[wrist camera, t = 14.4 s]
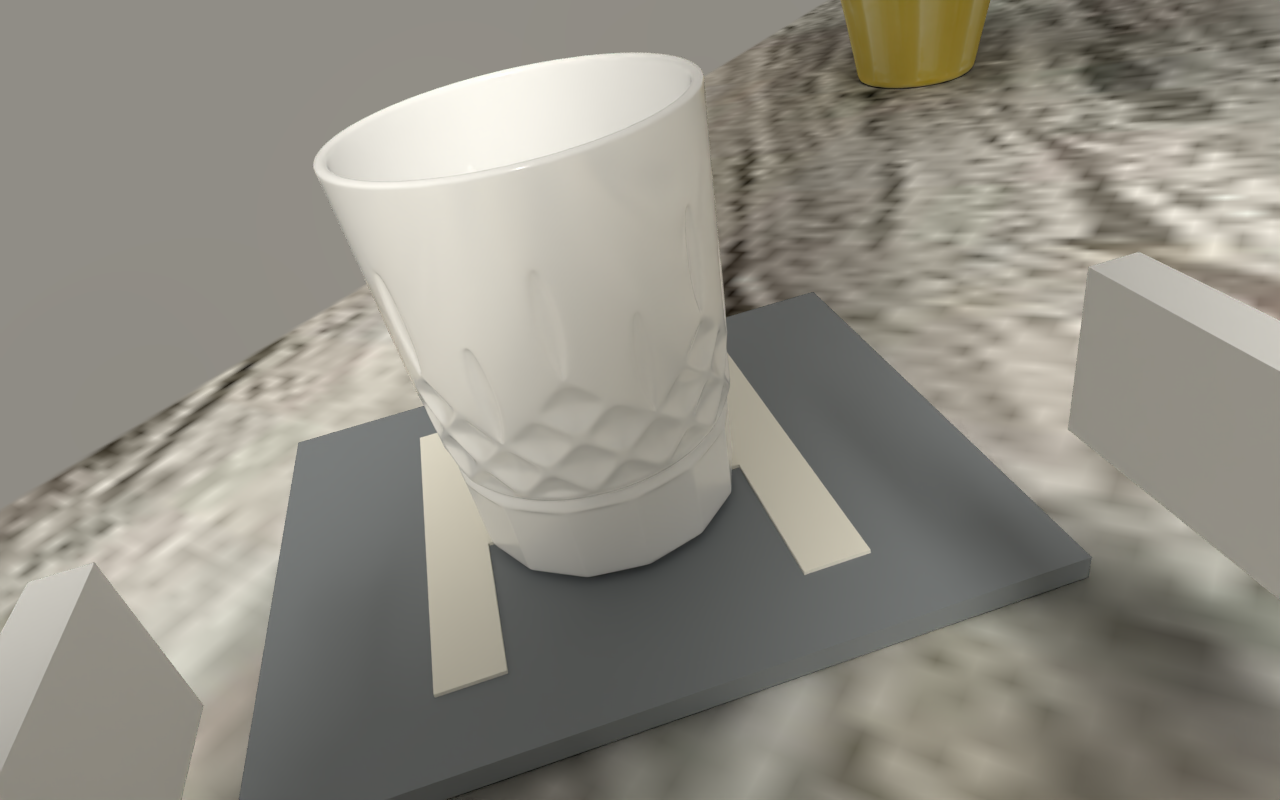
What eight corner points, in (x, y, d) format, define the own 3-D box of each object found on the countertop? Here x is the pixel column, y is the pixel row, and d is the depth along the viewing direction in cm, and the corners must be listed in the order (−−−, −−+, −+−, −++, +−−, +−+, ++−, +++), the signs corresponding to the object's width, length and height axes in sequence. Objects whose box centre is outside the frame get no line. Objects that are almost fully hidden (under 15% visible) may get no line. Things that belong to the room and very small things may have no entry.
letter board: (814, 306, 30) (813, 289, 29) (1088, 577, 18) (1092, 553, 18) (306, 457, 28) (297, 440, 27) (243, 869, 16) (227, 850, 16)
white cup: (409, 515, 23) (247, 158, 17) (614, 374, 27) (536, 49, 21) (601, 656, 18) (458, 212, 12) (819, 455, 22) (786, 53, 16)
